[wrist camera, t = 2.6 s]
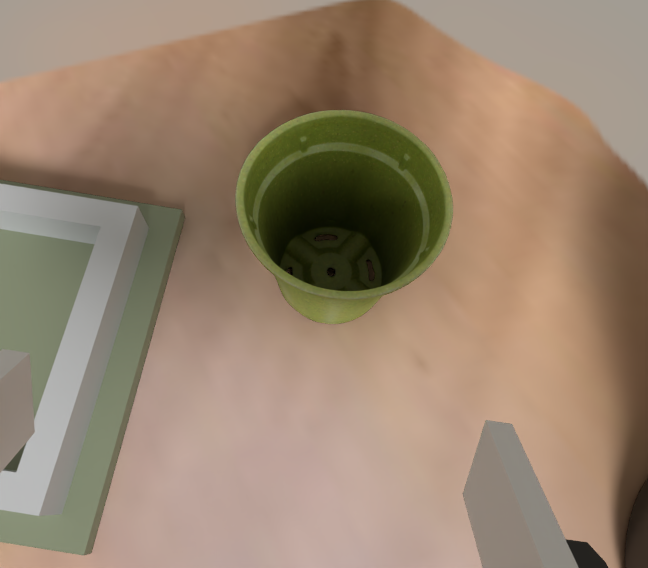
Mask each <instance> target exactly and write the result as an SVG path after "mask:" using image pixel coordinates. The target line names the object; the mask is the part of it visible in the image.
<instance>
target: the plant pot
mask: <svg viewBox="0 0 648 568" xmlns="http://www.w3.org/2000/svg"><path fill="white" fill-rule="evenodd" d="M235 202H236V212H237V218H238V222H239V225H240V228H241V231H242V234H243V236H244V238H245V240H246V242H247V244H248V246H249V247H250V249H251V250H252V252H253V253H254V255H255V256H256V257H257V258H258V260H259V261H260V262H261V263H262V264H263V265H264V266H265V267H266V268H267V269H268V270H269V271H270V272H271V273H272V274H274V275H275V277H276V280H277V282H278V285H279V287H280V290H281V292H282V294H283V296H284V298H285V300H286V301H287V302H288V303H289V304H290V305H291V306H292V307H293V308H294V309H295V310H296V311H298V312H299V313H301V314H302V315H303V316H305V317H307V318H308V319H311V320H313V321H316V322H320V323H327V324H339V323H345V322H349V321H351V320H354V319H356V318H358V317H360V316H362V315H363V314H364V313H366V312H367V311H368V310H369V309H370V308H371V307H373V305H374V304H375V303H376V302H377V301H378V300H379V299H380V298H381V297H382V296H383V295H386V294H389V293H392V292H394V291H396V290H398V289H400V288H402V287H404V286H406V285H408V284H409V283H411V282H412V281H414V280H415V279H416V278H418V277H419V276H420V275H421V274H422V273H423V272H425V271H426V270H427V269H428V268H429V267H430V265H431V264H432V263H433V262H434V261H435V259H436V258H437V257H438V255H439V254H440V252H441V251H442V249H443V247H444V245H445V243H446V240H447V238H448V235H449V232H450V228H451V224H452V217H453V201H452V195H451V191H450V186H449V182H448V180H447V177H446V175H445V172H444V171H443V169H442V167H441V165H440V163H439V162H438V160H437V158H436V157H435V155H434V154H433V153H432V152H431V150H430V149H429V148H428V147H427V146H426V145H425V144H424V143H423V142H422V141H420V140H419V139H418V138H417V137H416V136H415V135H414V134H412V133H411V132H410V131H408V130H407V129H405V128H404V127H402V126H400V125H398V124H396V123H394V122H392V121H390V120H388V119H386V118H383V117H380V116H377V115H374V114H370V113H365V112H360V111H352V110H328V111H319V112H314V113H310V114H305V115H303V116H300V117H297V118H295V119H293V120H291V121H288V122H286V123H284V124H282V125H280V126H279V127H277V128H275V129H274V130H273V131H271V132H270V133H269V134H268V135H267V136H265V137H264V138H263V139H262V140H260V141H259V142H258V143H257V145H256V146H255V147H254V148H253V150H252V151H251V152H250V154H249V155H248V157H247V158H246V160H245V162H244V164H243V166H242V168H241V171H240V174H239V177H238V181H237V186H236V196H235ZM322 234H331V235H335V236H337V237H338V238H337V239H336V240H321V241H315V240H314V238H315V237H317V236H318V235H322ZM367 259H368V260H370V261H371V262H372V266H373V269H374V272H375V277H374V280H372V281H370V280H369V274H368V267H367V263H366V261H367ZM289 267H292V275H290V274H289V273H287V272H286V271H287V270H288V268H289ZM328 268H334V269H335V275H334V276H329V275H328V274H327V270H328Z"/></svg>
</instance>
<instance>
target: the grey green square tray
mask: <svg viewBox="0 0 648 568" xmlns="http://www.w3.org/2000/svg"><path fill="white" fill-rule="evenodd" d="M184 219H185V217H184V214H183V211H182V210H181V209H175V208H169V207H163V206H157V205H151V204H145V203H139V202H133V201H127V200H121V199H115V198H108V197H102V196H96V195H90V194H84V193H78V192H72V191H66V190H60V189H54V188H48V187H42V186H35V185H29V184H23V183H17V182H11V181H5V180H0V351H1V350H2V349H6V350H13V351H19V352H26V353H30V365H31V380H32V396H33V411H34V427H35V433H34V434H33V435H32V436H31V438H30V439H29V440H28V441H27V442H26V443H25V445H24V446H23V447H22V448H21V449H20V450H19V452H18V453H17V454H16V455H15V456H14V458H13V459H12V460H11V461H10V462H9V463H8V465H7V466H6V467H5V468H4V469H3V470H2V472H1V473H0V542H4V543H10V544H16V545H22V546H29V547H35V548H41V549H47V550H54V551H60V552H66V553H72V554H79V555H87V554H90V553H91V552H92V549H93V545H94V541H95V538H96V534H97V531H98V527H99V524H100V520H101V516H102V513H103V509H104V506H105V502H106V498H107V495H108V491H109V488H110V484H111V481H112V477H113V473H114V470H115V466H116V463H117V459H118V456H119V452H120V448H121V445H122V441H123V438H124V434H125V430H126V427H127V423H128V420H129V416H130V413H131V409H132V405H133V402H134V398H135V395H136V391H137V388H138V384H139V380H140V377H141V373H142V370H143V366H144V362H145V359H146V355H147V352H148V348H149V345H150V341H151V337H152V334H153V330H154V327H155V323H156V320H157V316H158V312H159V309H160V305H161V302H162V298H163V294H164V291H165V287H166V284H167V280H168V277H169V273H170V269H171V266H172V262H173V259H174V255H175V252H176V248H177V244H178V241H179V237H180V234H181V230H182V226H183V223H184Z"/></svg>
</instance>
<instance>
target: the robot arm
mask: <svg viewBox="0 0 648 568" xmlns="http://www.w3.org/2000/svg"><path fill="white" fill-rule="evenodd" d="M34 433H35V427H34V411H33V396H32V380H31V365H30V353H26V352H19V351H13V350H6V349H2V350H1V351H0V473H1V472H2V470H3V469H4V468H5V467H6V466H7V465H8V463H9V462H10V461H11V460H12V459H13V458H14V456H15V455H16V454H17V453H18V452H19V450H20V449H21V448H22V447H23V446H24V445H25V443H26V442H27V441H28V440H29V439H30V438H31V436H32V435H33V434H34ZM463 497H464V501H465V505H466V508H467V512H468V516H469V519H470V523H471V527H472V530H473V534H474V538H475V541H476V545H477V549H478V552H479V556H480V560H481V563H482V567H483V568H608V566H607V564H606V562H605V561H604V560H603V559H602V558H601V557H600V556H599V555H598V554H597V553H596V552H595V550H594V549H593V548H592V547H591V546H590V545H589V544H588V543H587V542H580V541H573V540H566V539H565V537H564V535H563V533H562V531H561V529H560V526H559V524H558V522H557V520H556V518H555V516H554V514H553V511H552V509H551V507H550V505H549V503H548V501H547V498H546V496H545V494H544V492H543V490H542V488H541V486H540V483H539V481H538V479H537V477H536V475H535V473H534V470H533V468H532V466H531V464H530V462H529V460H528V457H527V455H526V453H525V451H524V449H523V447H522V445H521V442H520V440H519V438H518V436H517V434H516V432H515V429H514V427H513V425H512V424H509V423H502V422H495V421H488V420H486V421H485V424H484V427H483V431H482V434H481V437H480V440H479V443H478V447H477V450H476V453H475V456H474V459H473V463H472V466H471V469H470V472H469V475H468V479H467V482H466V485H465V488H464V491H463ZM625 568H648V479H647V480H646V482H645V483H644V485H643V487H642V489H641V490H640V492H639V495H638V497H637V499H636V501H635V504H634V507H633V510H632V513H631V517H630V520H629V525H628V530H627V538H626V550H625Z"/></svg>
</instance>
